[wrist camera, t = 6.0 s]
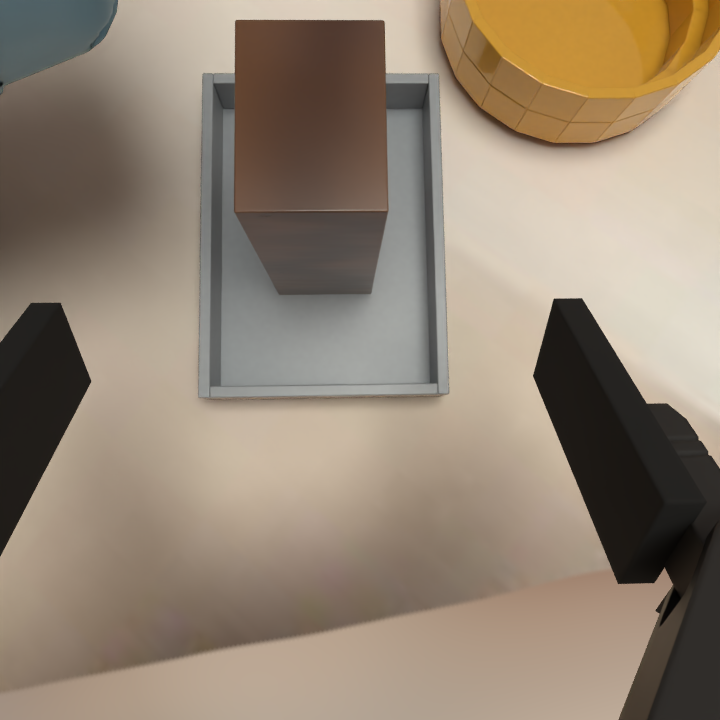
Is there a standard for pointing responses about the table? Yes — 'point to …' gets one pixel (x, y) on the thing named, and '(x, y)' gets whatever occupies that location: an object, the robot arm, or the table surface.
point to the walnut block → (312, 150)
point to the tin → (327, 311)
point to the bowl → (577, 60)
